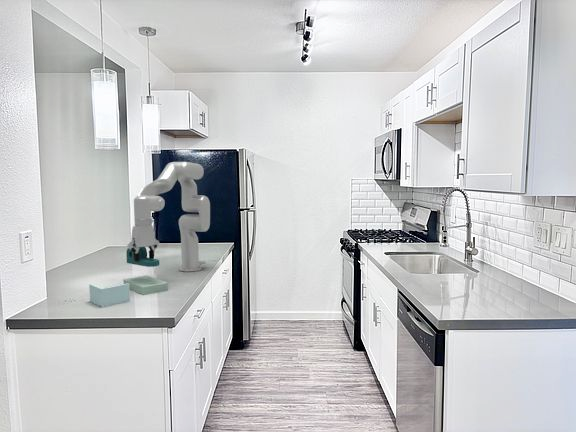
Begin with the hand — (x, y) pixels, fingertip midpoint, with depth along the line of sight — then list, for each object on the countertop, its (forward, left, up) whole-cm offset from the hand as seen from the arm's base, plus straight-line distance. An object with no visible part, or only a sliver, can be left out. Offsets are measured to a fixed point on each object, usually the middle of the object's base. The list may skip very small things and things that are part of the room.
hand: (144, 259), depth 204 cm
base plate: (0, 0, -14) cm, 14 cm away
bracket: (0, 0, -2) cm, 2 cm away
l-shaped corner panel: (+21, +7, -14) cm, 27 cm away
